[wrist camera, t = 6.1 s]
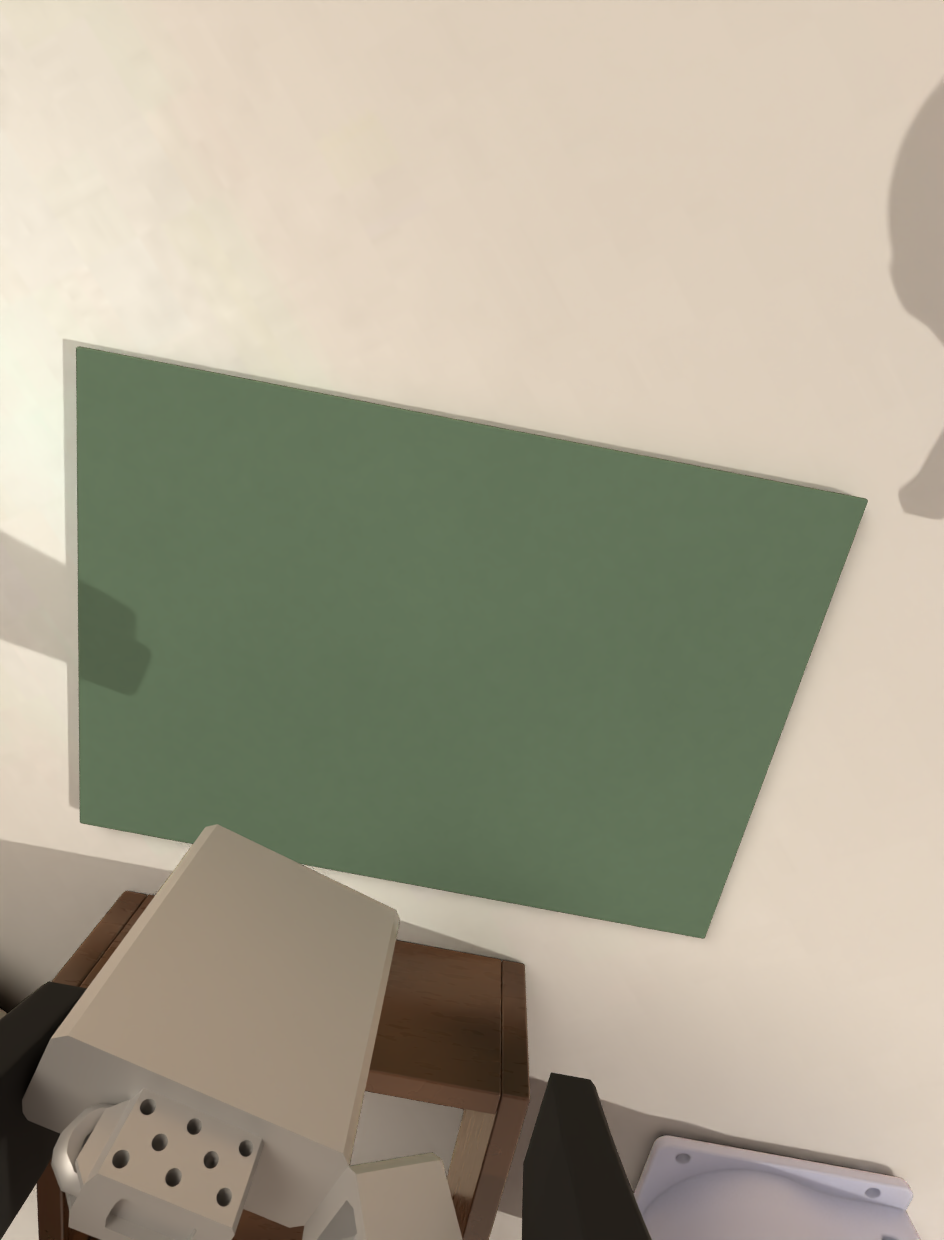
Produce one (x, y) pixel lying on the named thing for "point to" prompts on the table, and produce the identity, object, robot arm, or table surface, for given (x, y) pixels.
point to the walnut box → (395, 1065)
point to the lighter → (233, 1064)
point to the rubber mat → (433, 641)
